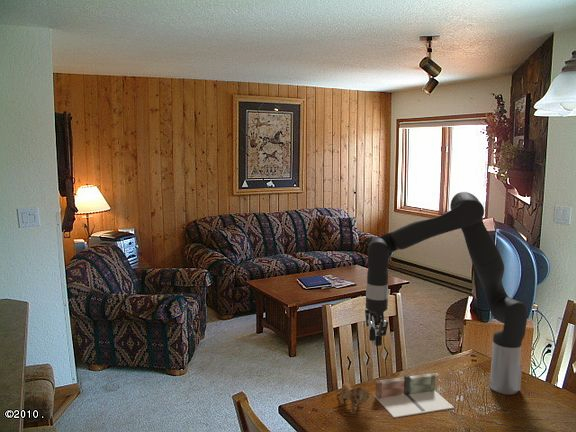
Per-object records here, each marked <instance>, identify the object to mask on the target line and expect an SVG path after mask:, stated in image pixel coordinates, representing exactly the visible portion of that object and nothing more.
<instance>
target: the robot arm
mask: <svg viewBox="0 0 576 432" xmlns="http://www.w3.org/2000/svg"><path fill="white" fill-rule="evenodd" d="M449 208H450V210H449V211H447V212H444V213H443V214H441V215H438V216H435V217H431V218H426V219H421V220H417V221H416V220H415V221H414V222H411V223H408V224H406V225H404V226H401V227H400V228H397V229H396V230H394V231H391V232H387V233H385V234H382V235H379V236H376V237H375V238H373V239H372V240H371V241H370V242H369V244H368V247H367V275H366V277H367V278H366V279H367V280H366V287H365V309H364V316H365V324H366V325H365V326H366V327H368V330H369V331H368V333H369V334H368V339H369V341H370V342H372V341H374V345H375V347H380V346H381V347H382V345H383V343H382V342H383V337H384V336H386V335H387V331H388V326H389V321H388V320H385V315H384V312H385V311H387V310H388V305H389V287H388V286H389V285H388V283H389V270H388V266H389V256H390V254H391V253H393V252H396V251H398V250H405V249H408V248H410V247H412V246H414V245H417V244H419V243H421V242H424V241H427V240H428V239H431V238H434V237H437V236H440V235H443V234H446V233H449V232H453V231H456V230H459V229H460V230H461V232H462V234H463V237H464V240H465V245H466V247H467V250H468V253H469V257H470V258H471V262H472V265H473V267H474V270H475V273H476V274H477V276H478V279H479V281H480V284H481V286H482V289H483V291H484V294H485V298H486V302H487V305H488V309H489V312H490V314H491V315H492V318H494V319H495V320H496V321H498V322H500V323H501V324H503V328H502V329H503V330H498V331H495V332H494V333H493V334H492V335H493V337H492V348H491V349H492V350H491V364H490V377H489V387H490V389H491V390H493V391H494V392H496V393H499V394H502V395H516V394H517V393H518V392H519V391H521V385H522V384H521V383H522V375H523V374H522V372H523V371H522V370H523V366H522V364H521V356H522V355H521V354H522V342H523V340H524V338H525V334H526V329H527V322H528V309H527V305H526V304H524V303H523V302H521V301H519V300H517V299H515V298H511V297H510V296H509V295H508V294H507V292H506V290H505V288H504V285H503V278H504V273H505V264H504V260H503V259H502V258H503V257H502V256H501V253H500V251H499V249H498V248H499V247H497V245H496V243H495V241H494V239H493V237H492V236H491V234H490V232H489V231H488V230H487V228H486V225H485V222H484V221H483V218H484V216H485V207H484V205H483V204H482V203H481V201H480V200H479V198H478V197H476V196H475V195H474V194H472V193H470V192H467V191H461V192H458V193H455V194H454V195H453V197H452V199H451V201H450V205H449Z"/></svg>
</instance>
